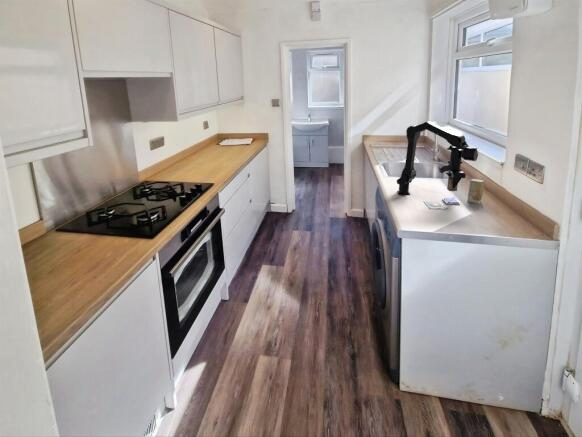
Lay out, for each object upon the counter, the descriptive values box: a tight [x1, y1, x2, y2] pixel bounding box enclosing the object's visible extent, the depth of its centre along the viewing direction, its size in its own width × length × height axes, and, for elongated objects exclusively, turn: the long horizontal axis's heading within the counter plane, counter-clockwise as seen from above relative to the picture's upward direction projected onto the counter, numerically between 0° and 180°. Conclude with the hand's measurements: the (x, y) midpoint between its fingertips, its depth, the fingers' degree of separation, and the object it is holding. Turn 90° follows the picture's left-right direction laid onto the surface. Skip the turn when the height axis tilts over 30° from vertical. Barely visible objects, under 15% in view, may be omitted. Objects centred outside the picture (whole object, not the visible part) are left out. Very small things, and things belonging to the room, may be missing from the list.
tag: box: [423, 201, 448, 210], centre depth 223 cm, size 12×9×1 cm
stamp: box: [446, 177, 459, 192], centre depth 225 cm, size 4×4×6 cm
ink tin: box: [441, 197, 461, 206], centre depth 228 cm, size 9×7×1 cm
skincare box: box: [467, 178, 485, 204], centre depth 226 cm, size 6×4×12 cm
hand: (452, 187), depth 225 cm, fingers closed on stamp, 4 cm apart
